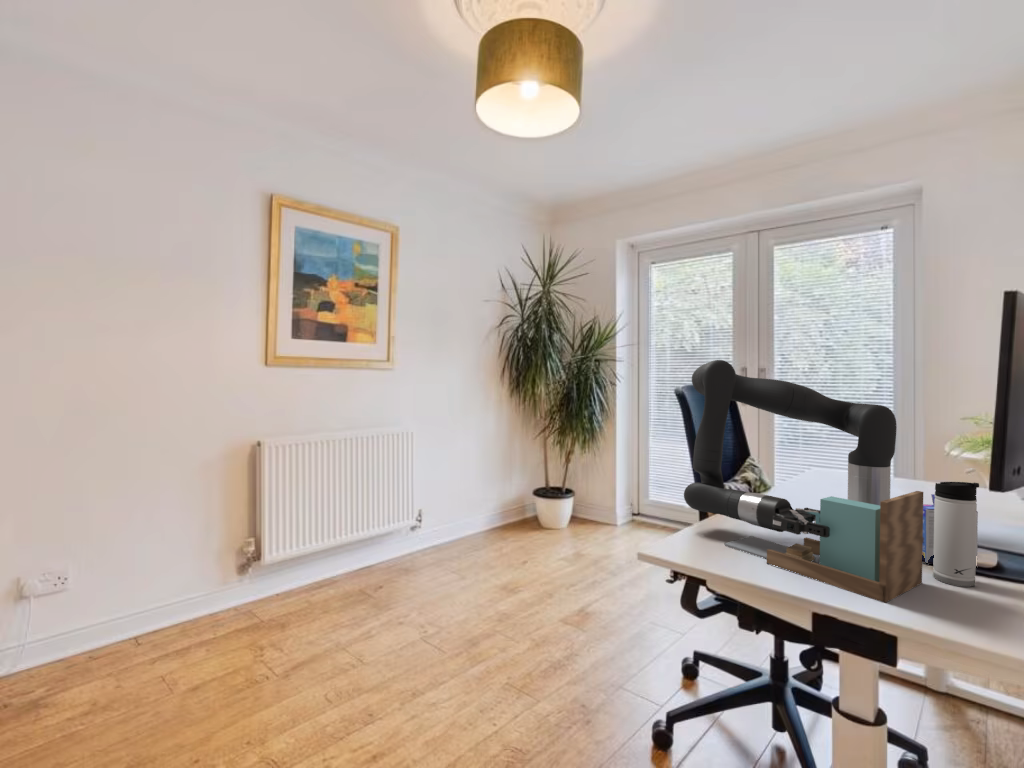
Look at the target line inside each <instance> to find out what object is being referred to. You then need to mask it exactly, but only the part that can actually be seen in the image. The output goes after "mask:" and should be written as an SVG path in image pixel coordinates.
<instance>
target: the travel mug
mask: <svg viewBox="0 0 1024 768" xmlns="http://www.w3.org/2000/svg"><path fill="white" fill-rule="evenodd" d="M934 484H935V487H934V490H935V491H934V495H935V499H934V558H933V567H932V568H933V571H932V573H933V574H932V576H933V578H935V579H936V580H938V581H939V582H942V583H944V584H948V585H951V586H954V587H955V586H956V587H962V588H970V587H974V586H975V585H976V569H977V568H976V513H977V512H978V511H977V505H978V504H977V491H978V489H977V488H980V483H979V482H967V481H940V482H939V483H937V482H935V483H934Z"/></svg>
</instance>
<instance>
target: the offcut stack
mask: <svg viewBox="0 0 1024 768" xmlns="http://www.w3.org/2000/svg"><path fill="white" fill-rule="evenodd" d="M785 554H788V555H791V556H794V557H798V558H801V559H804V560H808V561H811V562H813V561H815V559H816V557H815V555H814V554H813V552H812V547H808V546H804V544H802V543H801V544H800V543H794V544H791V545H790V546H788V547H787V552H786V553H785ZM812 560H813V561H812Z"/></svg>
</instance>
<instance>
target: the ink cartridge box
mask: <svg viewBox="0 0 1024 768" xmlns="http://www.w3.org/2000/svg"><path fill="white" fill-rule="evenodd" d="M930 495H931V499H932V504H924V503H923V548H922V555H923V556H924V558H925V562H926V563H928V560H929V559H930V557H931V556H933V555H934V499H935V493H934V494H933V493H932V494H930ZM978 515H979V512H978V511H977V513H976V556H977V555H978V540H979V539H978V531H979V530H978V526H979V525H978V524H979V523H978V522H979V521H978V517H979V516H978Z"/></svg>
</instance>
